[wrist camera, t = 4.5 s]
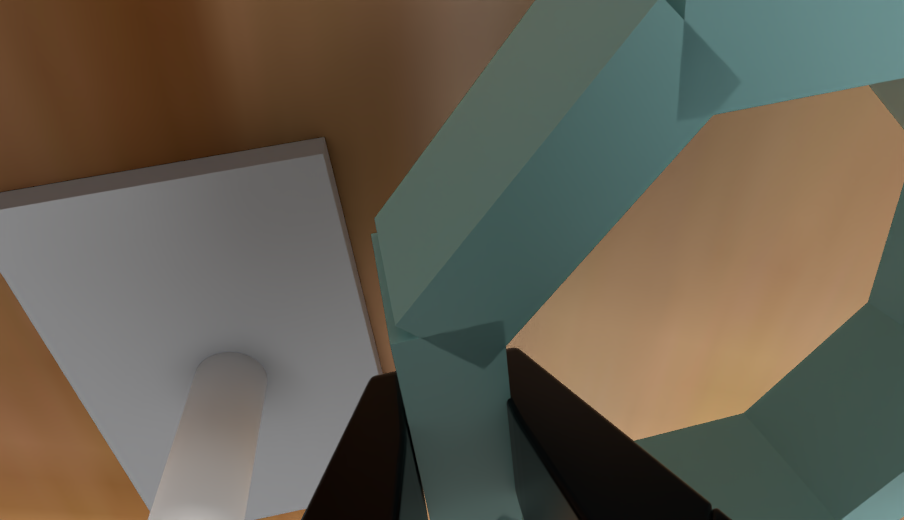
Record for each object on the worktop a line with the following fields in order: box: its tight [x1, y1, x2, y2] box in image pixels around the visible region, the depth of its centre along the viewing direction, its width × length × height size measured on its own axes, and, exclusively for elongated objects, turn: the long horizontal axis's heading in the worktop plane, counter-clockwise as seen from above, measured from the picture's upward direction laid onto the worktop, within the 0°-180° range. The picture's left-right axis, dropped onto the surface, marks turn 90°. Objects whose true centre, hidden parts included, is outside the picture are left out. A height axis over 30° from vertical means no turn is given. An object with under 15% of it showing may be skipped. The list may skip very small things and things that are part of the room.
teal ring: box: [371, 0, 904, 520], centre depth 9 cm, size 10×10×2 cm
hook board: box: [0, 137, 383, 520], centre depth 19 cm, size 10×15×8 cm, turn 7°
